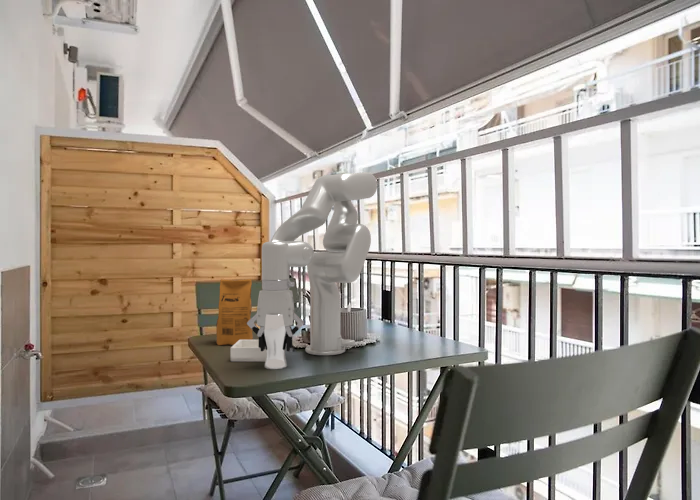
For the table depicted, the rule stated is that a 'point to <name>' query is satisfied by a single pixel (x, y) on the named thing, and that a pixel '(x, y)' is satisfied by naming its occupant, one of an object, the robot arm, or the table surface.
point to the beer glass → (275, 341)
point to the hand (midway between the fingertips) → (275, 349)
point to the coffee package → (234, 312)
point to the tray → (247, 351)
